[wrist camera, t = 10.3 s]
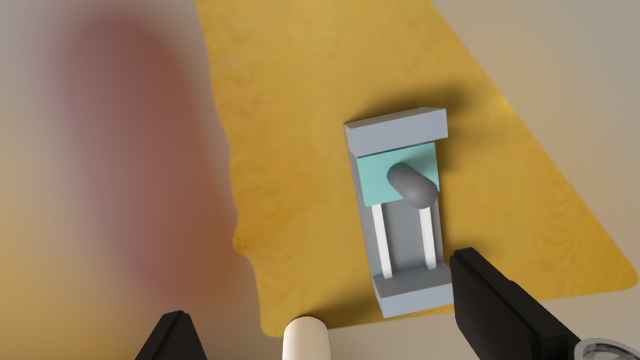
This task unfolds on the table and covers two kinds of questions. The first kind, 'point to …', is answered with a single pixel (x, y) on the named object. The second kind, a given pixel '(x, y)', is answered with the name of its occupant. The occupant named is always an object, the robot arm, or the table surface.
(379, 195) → the carriage
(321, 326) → the can
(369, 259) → the rail track
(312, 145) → the table surface
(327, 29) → the table surface
